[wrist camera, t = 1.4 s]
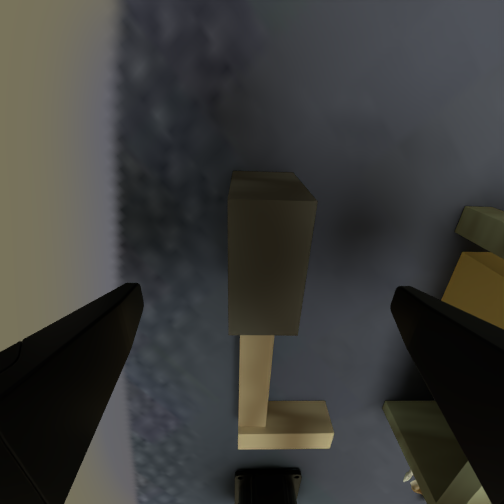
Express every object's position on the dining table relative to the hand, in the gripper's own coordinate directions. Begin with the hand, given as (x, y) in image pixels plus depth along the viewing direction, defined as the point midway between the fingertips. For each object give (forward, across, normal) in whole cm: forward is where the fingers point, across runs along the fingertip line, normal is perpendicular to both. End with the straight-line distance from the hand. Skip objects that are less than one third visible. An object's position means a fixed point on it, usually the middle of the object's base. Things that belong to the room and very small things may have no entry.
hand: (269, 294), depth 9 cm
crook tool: (+6, -2, +7) cm, 9 cm away
